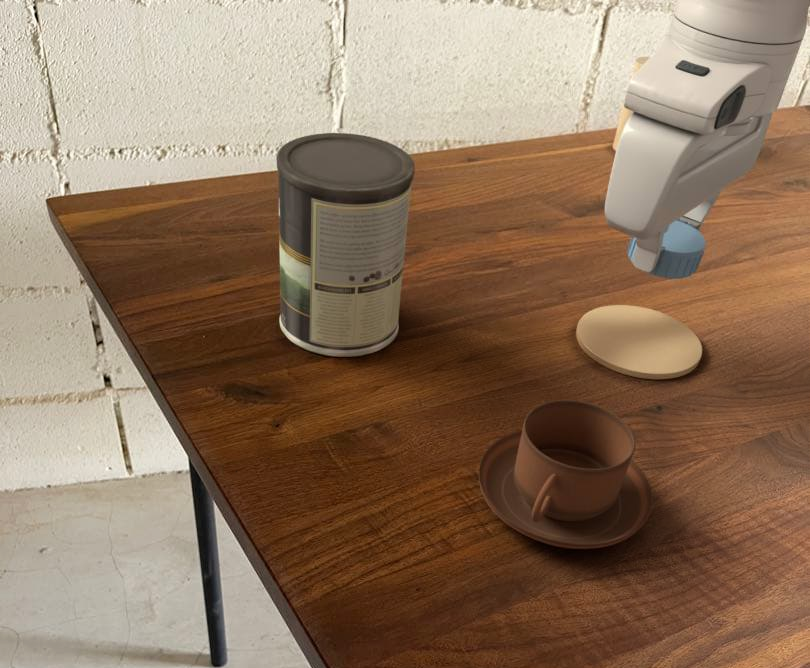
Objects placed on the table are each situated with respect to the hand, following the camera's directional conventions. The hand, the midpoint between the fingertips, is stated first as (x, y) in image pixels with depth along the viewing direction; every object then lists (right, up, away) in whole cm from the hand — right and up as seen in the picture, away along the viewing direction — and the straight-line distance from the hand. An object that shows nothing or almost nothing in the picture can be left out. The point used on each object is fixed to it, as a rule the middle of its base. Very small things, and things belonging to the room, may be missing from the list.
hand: (664, 253), depth 72 cm
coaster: (-1, -6, +6) cm, 9 cm away
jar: (+7, +25, +38) cm, 47 cm away
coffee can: (-27, -5, +4) cm, 27 cm away
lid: (0, +1, -1) cm, 1 cm away
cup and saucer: (-10, -21, -10) cm, 25 cm away
